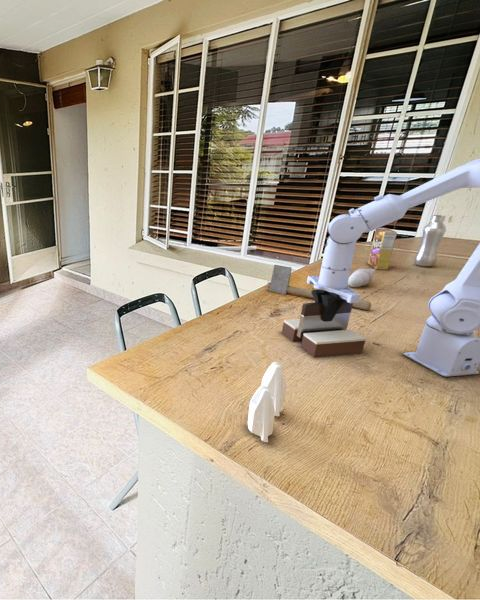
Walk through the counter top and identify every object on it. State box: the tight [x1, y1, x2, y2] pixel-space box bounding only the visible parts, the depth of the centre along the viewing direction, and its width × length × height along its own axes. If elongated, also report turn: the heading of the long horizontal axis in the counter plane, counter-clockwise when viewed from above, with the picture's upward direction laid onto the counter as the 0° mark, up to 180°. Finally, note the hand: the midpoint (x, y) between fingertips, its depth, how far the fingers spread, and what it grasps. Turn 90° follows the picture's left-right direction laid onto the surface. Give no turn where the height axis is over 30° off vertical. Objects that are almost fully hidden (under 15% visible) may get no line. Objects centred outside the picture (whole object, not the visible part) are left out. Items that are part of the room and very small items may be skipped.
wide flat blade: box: [297, 301, 353, 338], centre depth 87 cm, size 1×12×9 cm, turn 93°
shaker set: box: [246, 361, 287, 443], centre depth 62 cm, size 12×4×11 cm, turn 139°
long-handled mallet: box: [266, 264, 372, 311], centre depth 114 cm, size 10×2×30 cm
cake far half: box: [281, 318, 303, 342], centre depth 92 cm, size 5×12×4 cm, turn 94°
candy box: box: [367, 227, 398, 271], centre depth 141 cm, size 9×4×15 cm, turn 160°
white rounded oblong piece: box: [347, 268, 376, 288], centre depth 125 cm, size 6×6×15 cm
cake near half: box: [300, 329, 367, 358], centre depth 85 cm, size 5×12×4 cm, turn 94°
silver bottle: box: [413, 214, 447, 267], centre depth 138 cm, size 6×7×20 cm
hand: (324, 319), depth 87 cm, fingers closed on wide flat blade, 1 cm apart
